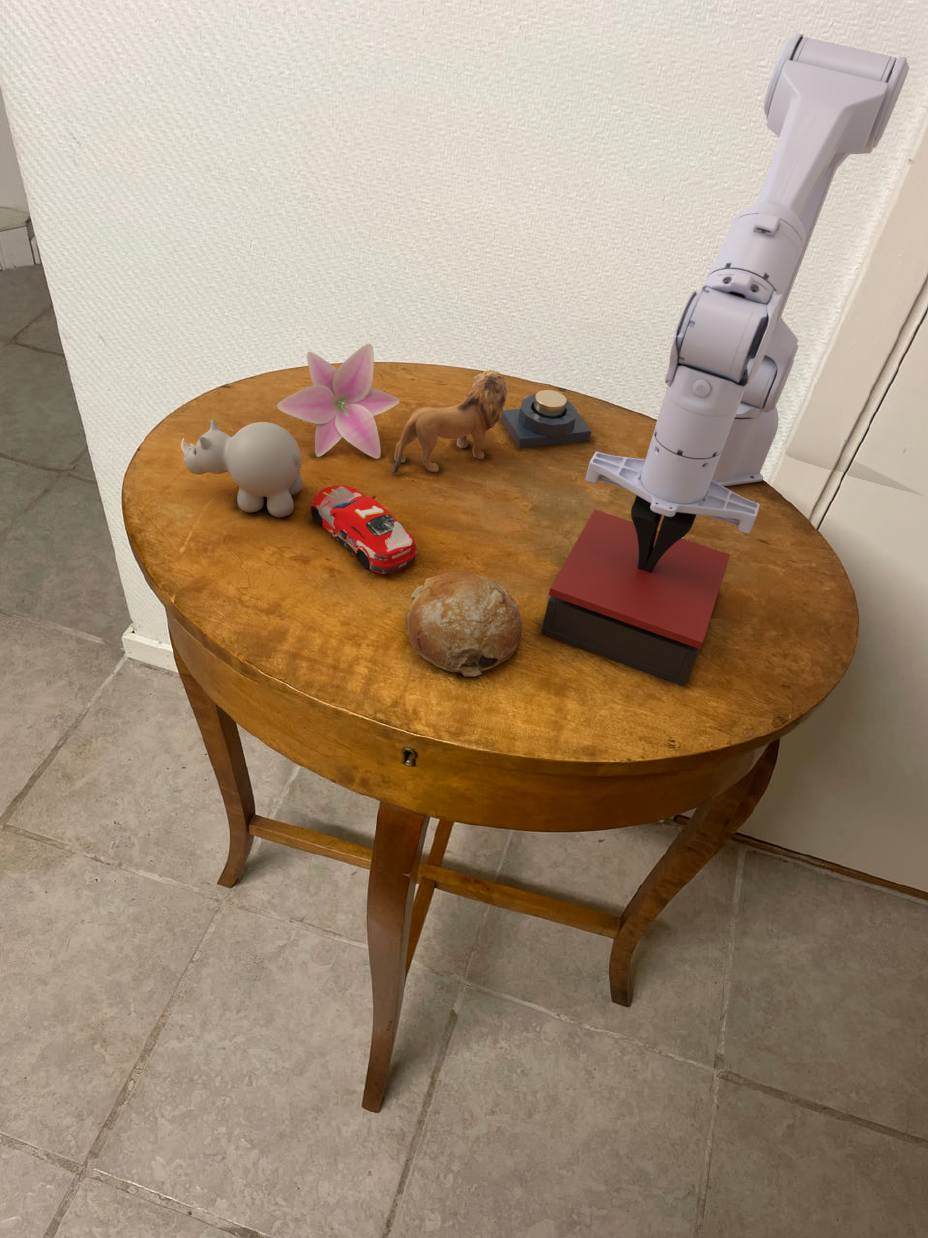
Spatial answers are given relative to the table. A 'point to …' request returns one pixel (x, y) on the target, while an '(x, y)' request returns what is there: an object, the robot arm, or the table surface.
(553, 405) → the button
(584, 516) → the table surface
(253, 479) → the round bodied animal figurine
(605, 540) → the lid
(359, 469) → the table surface
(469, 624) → the bread roll
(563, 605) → the black open box
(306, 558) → the table surface
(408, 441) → the lion figurine
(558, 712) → the table surface
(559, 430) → the control block
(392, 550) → the race car
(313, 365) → the lily
